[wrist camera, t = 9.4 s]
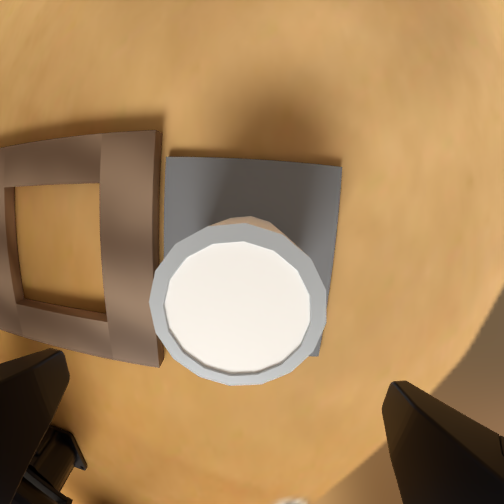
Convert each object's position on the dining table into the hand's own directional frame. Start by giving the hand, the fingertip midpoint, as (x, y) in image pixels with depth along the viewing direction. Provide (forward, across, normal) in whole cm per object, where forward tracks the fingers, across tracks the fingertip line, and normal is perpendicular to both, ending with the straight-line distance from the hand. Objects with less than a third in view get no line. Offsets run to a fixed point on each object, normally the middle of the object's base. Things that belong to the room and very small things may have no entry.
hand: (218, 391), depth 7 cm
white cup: (+12, 0, 0) cm, 12 cm away
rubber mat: (+12, 0, 0) cm, 12 cm away
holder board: (+12, +13, 0) cm, 18 cm away
